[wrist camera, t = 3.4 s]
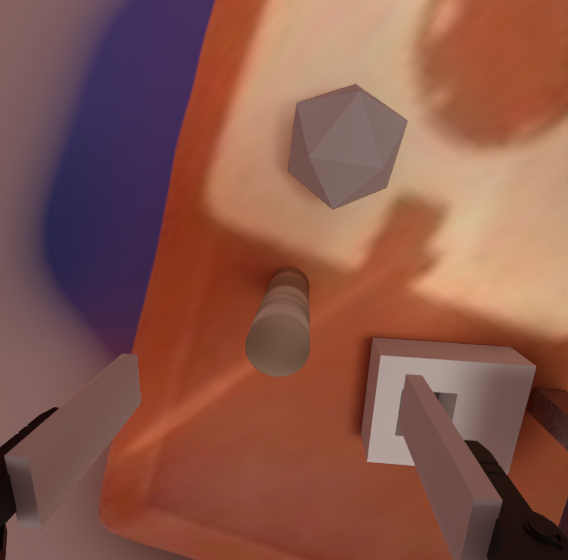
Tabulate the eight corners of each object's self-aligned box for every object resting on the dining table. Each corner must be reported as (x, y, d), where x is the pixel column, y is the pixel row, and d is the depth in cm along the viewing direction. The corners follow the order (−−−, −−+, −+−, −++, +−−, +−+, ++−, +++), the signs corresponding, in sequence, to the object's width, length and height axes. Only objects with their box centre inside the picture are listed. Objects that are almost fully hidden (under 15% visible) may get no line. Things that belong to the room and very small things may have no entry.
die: (397, 188, 31) (450, 93, 22) (334, 244, 29) (364, 164, 20) (331, 137, 34) (355, 32, 24) (267, 186, 31) (266, 88, 22)
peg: (270, 266, 34) (245, 315, 20) (310, 268, 33) (311, 319, 20) (269, 303, 35) (244, 374, 21) (307, 306, 34) (307, 378, 21)
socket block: (372, 337, 35) (380, 355, 31) (510, 346, 34) (536, 366, 30) (360, 434, 38) (367, 461, 34) (487, 444, 37) (508, 474, 33)
